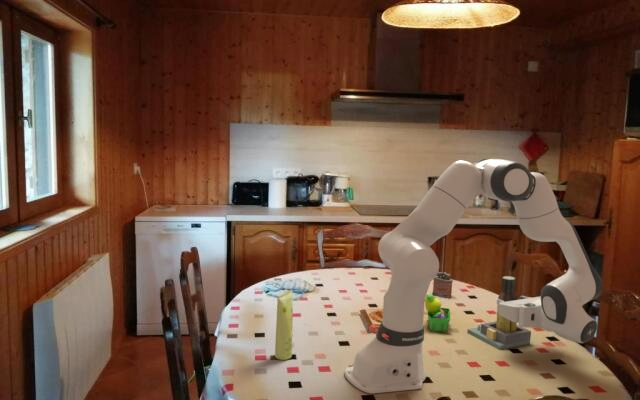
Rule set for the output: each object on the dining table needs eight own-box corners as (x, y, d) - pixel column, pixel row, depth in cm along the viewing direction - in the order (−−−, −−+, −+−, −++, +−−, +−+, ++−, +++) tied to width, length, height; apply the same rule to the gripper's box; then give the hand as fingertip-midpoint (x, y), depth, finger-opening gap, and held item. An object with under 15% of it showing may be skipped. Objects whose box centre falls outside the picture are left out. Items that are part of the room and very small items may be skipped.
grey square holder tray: (499, 349, 168) (500, 339, 168) (467, 332, 181) (468, 323, 181) (530, 343, 174) (530, 334, 173) (496, 327, 187) (497, 318, 187)
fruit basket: (449, 333, 180) (452, 301, 178) (423, 331, 181) (425, 298, 180) (448, 322, 191) (450, 291, 189) (423, 319, 193) (425, 289, 191)
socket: (502, 345, 168) (502, 336, 168) (477, 332, 178) (478, 324, 178) (530, 340, 174) (531, 331, 173) (505, 328, 183) (505, 319, 183)
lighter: (452, 297, 220) (454, 273, 219) (449, 299, 217) (451, 275, 216) (433, 293, 224) (435, 270, 223) (431, 295, 221) (432, 271, 220)
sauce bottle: (510, 332, 179) (516, 275, 177) (518, 340, 173) (523, 280, 170) (492, 332, 179) (496, 274, 176) (499, 339, 173) (504, 280, 170)
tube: (293, 360, 155) (295, 295, 152) (276, 361, 153) (278, 296, 151) (290, 352, 160) (292, 289, 157) (273, 353, 159) (275, 290, 156)
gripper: (568, 299, 166) (533, 287, 178) (520, 307, 157) (486, 293, 169) (566, 319, 167) (531, 305, 179) (518, 328, 158) (485, 312, 170)
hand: (509, 299), depth 174 cm, fingers open, 8 cm apart
